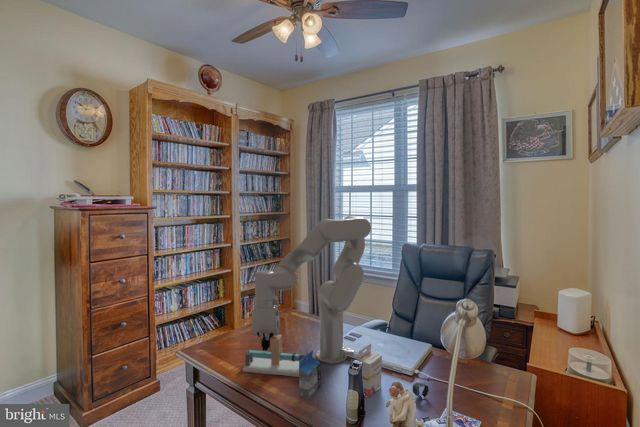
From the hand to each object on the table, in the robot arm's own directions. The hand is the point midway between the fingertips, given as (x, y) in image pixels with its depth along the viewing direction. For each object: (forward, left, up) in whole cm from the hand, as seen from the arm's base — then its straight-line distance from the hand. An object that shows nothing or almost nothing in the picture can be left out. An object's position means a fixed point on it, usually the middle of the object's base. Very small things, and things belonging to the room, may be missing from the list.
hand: (265, 348), depth 128 cm
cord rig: (-4, 0, -7) cm, 8 cm away
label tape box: (-20, +13, -8) cm, 25 cm away
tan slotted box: (-4, 0, -5) cm, 7 cm away
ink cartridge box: (-40, +9, -8) cm, 42 cm away
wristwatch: (-57, +11, -8) cm, 59 cm away
